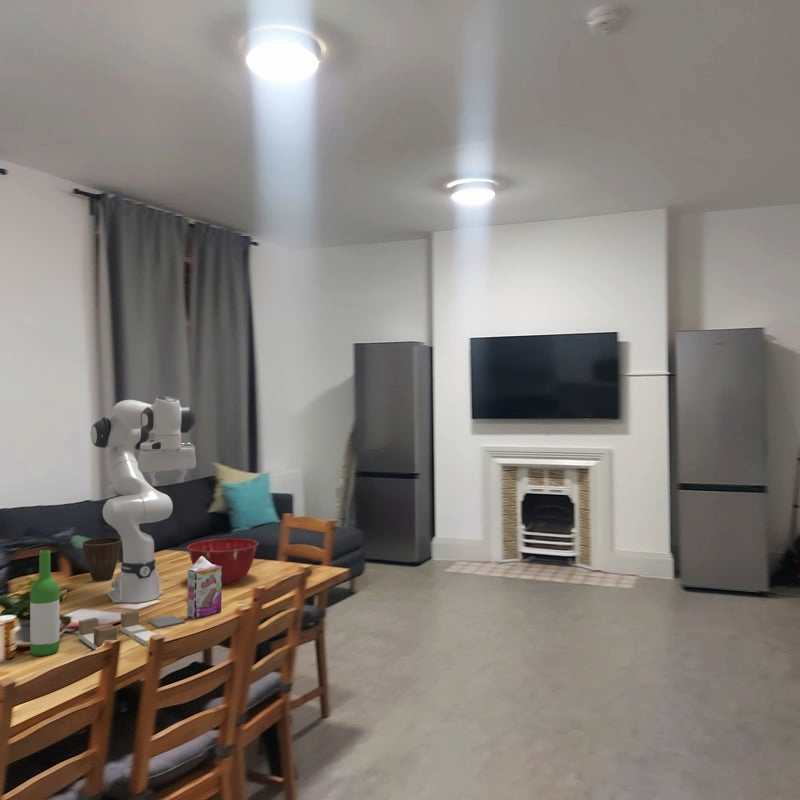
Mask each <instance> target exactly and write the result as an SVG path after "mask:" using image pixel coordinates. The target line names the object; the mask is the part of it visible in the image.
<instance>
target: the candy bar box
mask: <svg viewBox="0 0 800 800" xmlns="http://www.w3.org/2000/svg"><path fill="white" fill-rule="evenodd" d="M222 586H223V585H222V566H219V565H208V566H203V567H198V568H193V569H191V568H190V569H187V605H186V607H187V611H186V614H187V617H188V618H191V619H193V620H196V619H200V618H204V617H207V616H211V615H212V616H213V615H215V614H219V613H221V612H222Z"/></svg>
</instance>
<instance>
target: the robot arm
mask: <svg viewBox="0 0 800 800" xmlns="http://www.w3.org/2000/svg"><path fill="white" fill-rule="evenodd" d="M195 424H196V414H195V412H194V410H193V409H192V408H191V407H190V406H189V405H187V404H185V405H182V404H181V403H180V399H179V398H177V397H175V396H170V395H161V396H157V397H156V399H155V400H154V403H153V404H150V403H147V402H144V401H140V400H136V399H124V400H121V401H119V402H117V403H115V404H114V406H113V407H112V410H111V416H110V417H106V416H103V417H102V418H101V419H100V420H98V421H96V422H95V423H94V424H93V425H92V426H91V429H90V439H91V442H92V445H93V446H95V447H96V448H101V449H106V448H110V449H109V451H108V452H107V453H106V463H107V470H108V473H109V475H110V480H111V481H112V485H113V487H114V490H115V491H116V492H117V494H119V495H120V496H117V497H113V498H110V499H107V501H106V502H105V503H104V505H103V507H102V517H103V519H104V521H105V522H106V524H108V525H109V526H111V527H112V528H113V529H114V530H115V531H116V532H117V534H118V535H119V537H120V539H121V544H122V545H121V546H122V547H121V548H122V561H121V564H120V572H119V573H118V575H117V576H116V577H115V578H114V581H111V590H108V591H107V595H108V597H109V599H110V600H111V601H112V603H115V604H117V603H125V604H127V603H128V604H133V603H144V602H149V601H153V600H155V599H158V598H159V597H160V596H162V595H164V591H163V590H161V588H160V587H161V586H160V575H159V572H158V571H156V559H155V540H154V538H153V537H152V535H150V534H148V533H146V532H143V531H141V530H140V524H149V523H157V522H160V521H163V520H166V519H168V518H169V517H170V516H171V514H172V513H173V510H174V509H173V508H174V507H173V506H174V505H173V501H172V498H171V497H170V496H169V495H168V494H165V493H163V492H161V491H159V490H157V489H156V488H154V487H153V486H158V485H159V479H157V478H156V477H155V476H156V472H165V471H166V472H167V471H168V472H169V471H179V473H180V474H179V477H178V476H177V477H176V478H177V479H176V482H177V483H178V484H182V483H185V482H184V478H185V476H186V475H187V470H193V469H195V468H196V467H197V459H196V446H195V445H194V444H193V443H192V442H182V434H183V433H184V434H188V433H189V432H190V431H191V430H192V429H193V428H194V427H195ZM150 434H153V435H154V437H153V438H151V439H149V438H150ZM135 449H136V451H139V450H141V451H140V452H139V453H138V457H137V458H138V459H136V457H135ZM143 473H148V477H149V478H150V480H151V485H150V483H149V482H148V481H147V480H146V479H145V477H144V474H143Z"/></svg>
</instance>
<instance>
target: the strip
mask: <svg viewBox="0 0 800 800" xmlns="http://www.w3.org/2000/svg"><path fill="white" fill-rule="evenodd" d="M98 626H99V619H98V618H97V617H92V618H86V619H81V620H78V639H79V640H81V641H82V642H84V643H85V644H86V645H88V646H89V647H90V648H92V649H93V650H94V649H96V648H98V647H97V646H96V645H94V627H98Z"/></svg>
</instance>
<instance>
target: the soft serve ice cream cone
mask: <svg viewBox="0 0 800 800" xmlns="http://www.w3.org/2000/svg"><path fill="white" fill-rule="evenodd" d="M208 565H212V564H211V563H210V562H209V561H207V560H206V559H205V558H204V557H203V556H201V557H200V558H199V559H198V560H197V561H196V563H195V564H194V565H193V564H192V566H191V567H190V569H193V568H198V567H203V566H208Z"/></svg>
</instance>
